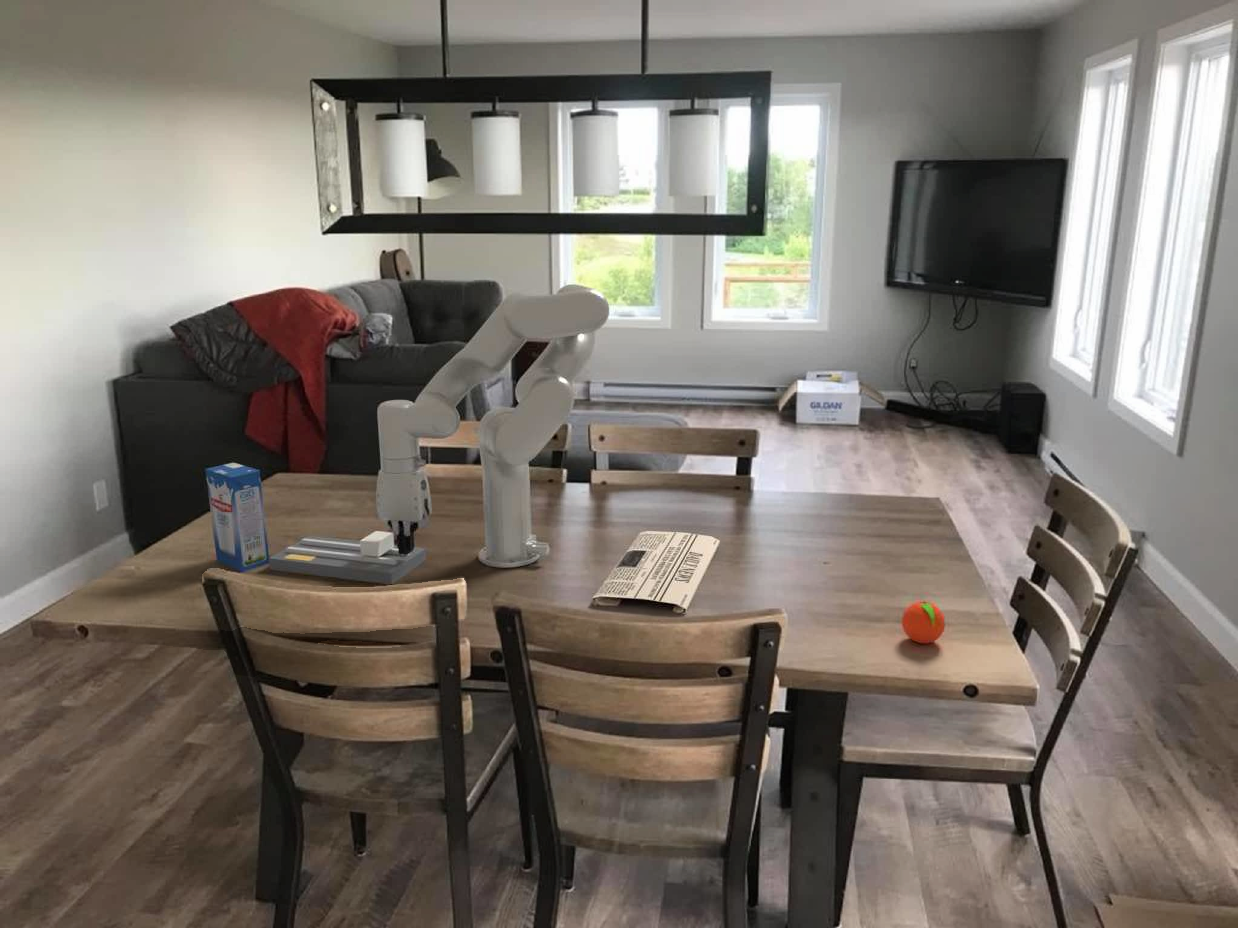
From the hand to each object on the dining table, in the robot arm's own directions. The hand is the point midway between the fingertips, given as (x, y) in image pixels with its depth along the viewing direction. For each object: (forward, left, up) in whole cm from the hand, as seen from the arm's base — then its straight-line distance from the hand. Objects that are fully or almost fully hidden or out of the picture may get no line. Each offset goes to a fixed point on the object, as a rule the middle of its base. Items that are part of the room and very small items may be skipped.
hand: (406, 552), depth 198 cm
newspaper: (-50, -14, -5) cm, 52 cm away
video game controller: (+12, -18, -5) cm, 22 cm away
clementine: (-99, +4, -5) cm, 100 cm away
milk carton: (+36, +5, -4) cm, 36 cm away
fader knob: (+7, 0, -1) cm, 7 cm away
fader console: (+14, 0, -4) cm, 14 cm away
